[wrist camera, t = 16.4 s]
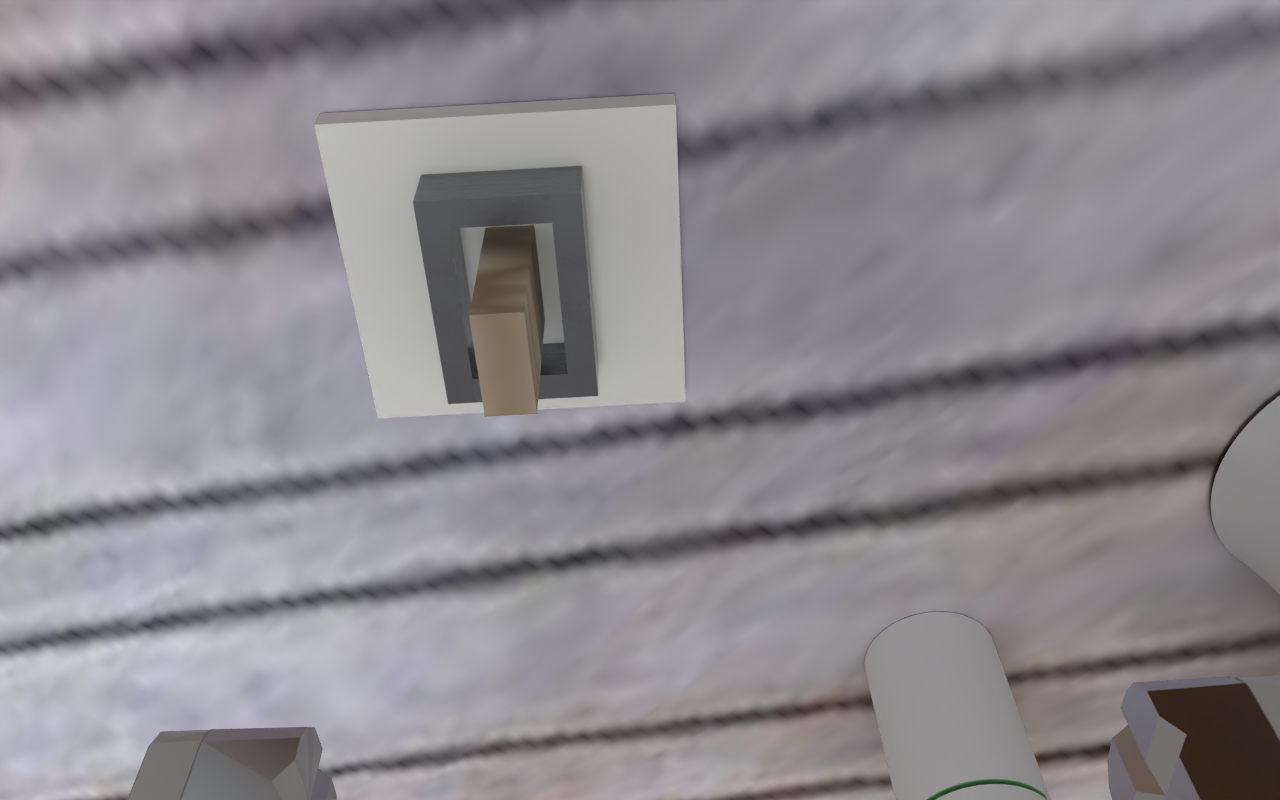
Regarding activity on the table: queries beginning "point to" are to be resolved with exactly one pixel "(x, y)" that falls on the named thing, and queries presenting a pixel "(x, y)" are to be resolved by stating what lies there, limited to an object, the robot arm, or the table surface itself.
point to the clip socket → (439, 219)
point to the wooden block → (508, 321)
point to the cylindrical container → (949, 713)
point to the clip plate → (506, 140)
